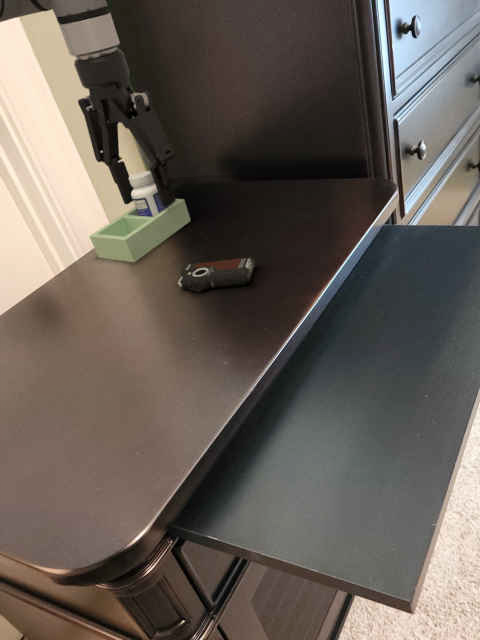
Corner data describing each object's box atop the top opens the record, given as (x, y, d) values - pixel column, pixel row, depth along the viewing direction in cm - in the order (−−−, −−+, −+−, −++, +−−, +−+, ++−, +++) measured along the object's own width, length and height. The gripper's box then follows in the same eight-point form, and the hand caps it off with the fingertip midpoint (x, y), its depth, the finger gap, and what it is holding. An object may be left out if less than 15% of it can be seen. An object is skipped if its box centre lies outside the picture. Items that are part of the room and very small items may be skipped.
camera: (244, 274, 73) (171, 282, 75) (249, 291, 75) (178, 298, 77) (252, 249, 77) (182, 257, 79) (256, 266, 79) (189, 273, 81)
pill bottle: (167, 217, 98) (150, 167, 93) (175, 223, 94) (158, 172, 89) (140, 226, 97) (121, 176, 91) (147, 232, 93) (128, 181, 88)
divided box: (98, 258, 91) (88, 236, 89) (156, 218, 101) (149, 197, 98) (134, 262, 87) (125, 239, 85) (190, 220, 97) (184, 199, 94)
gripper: (166, 41, 76) (209, 196, 91) (67, 53, 85) (121, 191, 100) (132, 53, 71) (183, 214, 86) (31, 64, 81) (93, 208, 95)
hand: (149, 202), depth 93 cm, fingers open, 8 cm apart
